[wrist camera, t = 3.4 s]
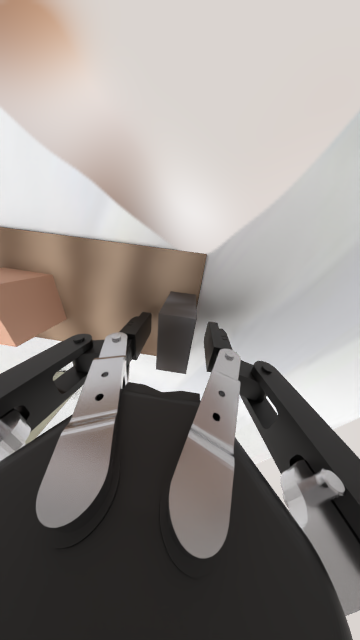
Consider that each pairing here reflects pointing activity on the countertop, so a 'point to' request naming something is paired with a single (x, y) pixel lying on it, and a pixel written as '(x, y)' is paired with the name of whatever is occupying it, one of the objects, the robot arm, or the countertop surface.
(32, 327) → the terracotta block
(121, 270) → the walnut strip
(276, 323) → the countertop surface
